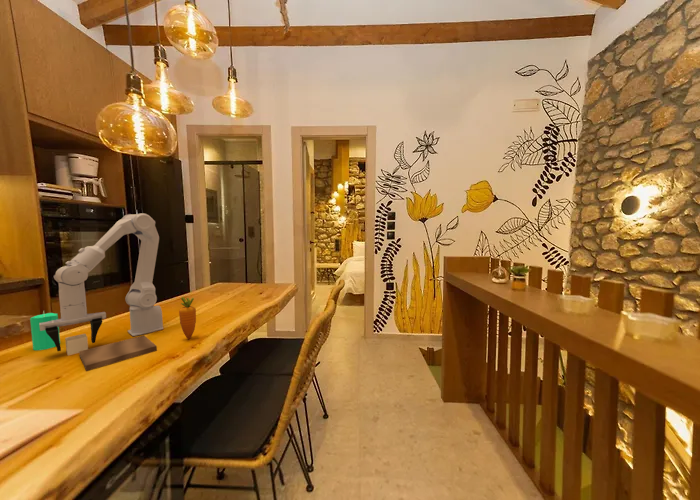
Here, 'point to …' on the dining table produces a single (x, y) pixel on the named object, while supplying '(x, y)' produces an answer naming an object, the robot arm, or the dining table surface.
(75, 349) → the cube
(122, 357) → the walnut board
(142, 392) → the dining table surface
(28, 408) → the dining table surface
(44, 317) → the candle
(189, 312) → the carrot
